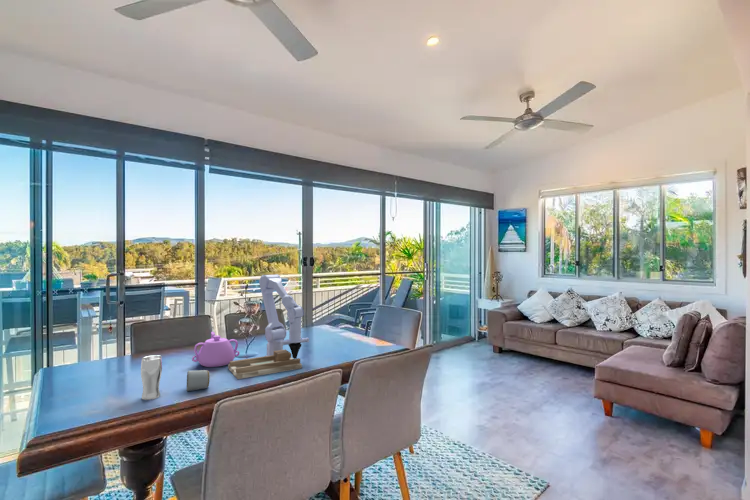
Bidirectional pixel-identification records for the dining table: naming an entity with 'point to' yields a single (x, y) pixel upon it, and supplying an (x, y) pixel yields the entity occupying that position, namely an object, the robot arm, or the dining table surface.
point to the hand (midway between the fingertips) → (294, 358)
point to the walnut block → (281, 355)
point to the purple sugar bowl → (215, 351)
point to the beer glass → (151, 376)
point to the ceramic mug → (197, 380)
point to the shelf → (261, 366)
